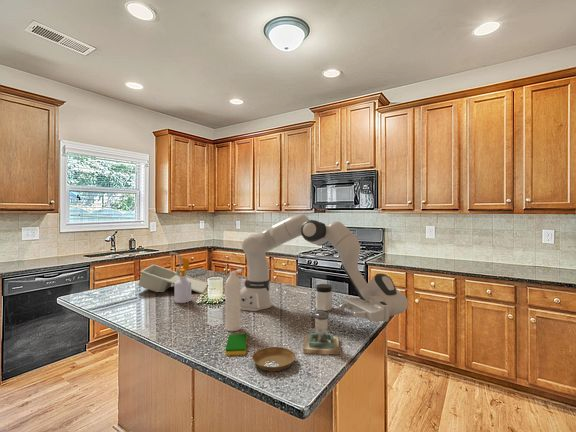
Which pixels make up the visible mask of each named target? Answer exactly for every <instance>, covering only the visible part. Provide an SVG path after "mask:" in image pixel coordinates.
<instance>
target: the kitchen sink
mask: <svg viewBox="0 0 576 432" xmlns="http://www.w3.org/2000/svg"><path fill="white" fill-rule="evenodd" d="M171 255H176V256H177V257H178V258H182V257H181V255H180V254H178V253H177V252H169V256H171ZM182 266H183V260H182V259H179V266H178V268H177V270H176V271H174V270H172V269H169V268H166V267H162V266H160V265H157V264H151V265H150V266H148V267H146V268H144V269H141V270H140V271H139V273H140V274H141V275H140V277H139V281H138V285H137V286H138V287H141V288H144V289H146V290H149V291H153V292H155V293H158V292H163V293H165V292H166V291H167V290H168V289H169V288H170V287H171V286H172V284H173V285H175V282H176V281H178V280H179V279H180V275H181V272H180V271H178V270H180V269H182ZM186 279H188V280H189V281H191V291H193V292H196V293H199V294H202V293H203V292H204V293H205V291H206V290H207V288H208V287H207V283H208V282H206V281H203V280H201V279H197V278H195V277H192V276H188V275H186ZM169 286H170V287H169ZM168 287H169V288H168ZM167 288H168V289H167ZM166 289H167V290H166ZM204 293H203V294H204Z"/></svg>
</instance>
